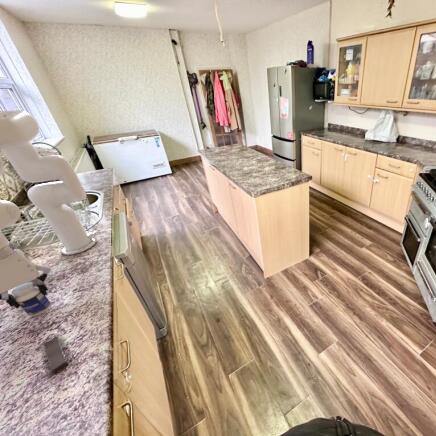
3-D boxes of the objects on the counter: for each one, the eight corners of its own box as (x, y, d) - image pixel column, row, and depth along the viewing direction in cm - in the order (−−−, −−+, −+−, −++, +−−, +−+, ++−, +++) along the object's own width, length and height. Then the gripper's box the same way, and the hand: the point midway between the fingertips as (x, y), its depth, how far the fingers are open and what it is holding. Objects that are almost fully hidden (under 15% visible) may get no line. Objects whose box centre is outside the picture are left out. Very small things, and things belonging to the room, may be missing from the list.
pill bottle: (24, 319, 73) (4, 297, 68) (34, 306, 78) (15, 284, 73) (47, 313, 75) (28, 290, 70) (55, 300, 80) (38, 278, 75)
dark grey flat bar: (45, 346, 66) (43, 343, 66) (59, 338, 68) (57, 335, 68) (53, 373, 59) (51, 371, 59) (68, 364, 61) (66, 361, 61)
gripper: (34, 236, 73) (64, 278, 82) (-54, 265, 62) (-9, 311, 71) (37, 243, 69) (68, 288, 78) (-57, 276, 58) (-8, 324, 66)
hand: (31, 298), depth 74 cm, fingers closed on pill bottle, 5 cm apart
